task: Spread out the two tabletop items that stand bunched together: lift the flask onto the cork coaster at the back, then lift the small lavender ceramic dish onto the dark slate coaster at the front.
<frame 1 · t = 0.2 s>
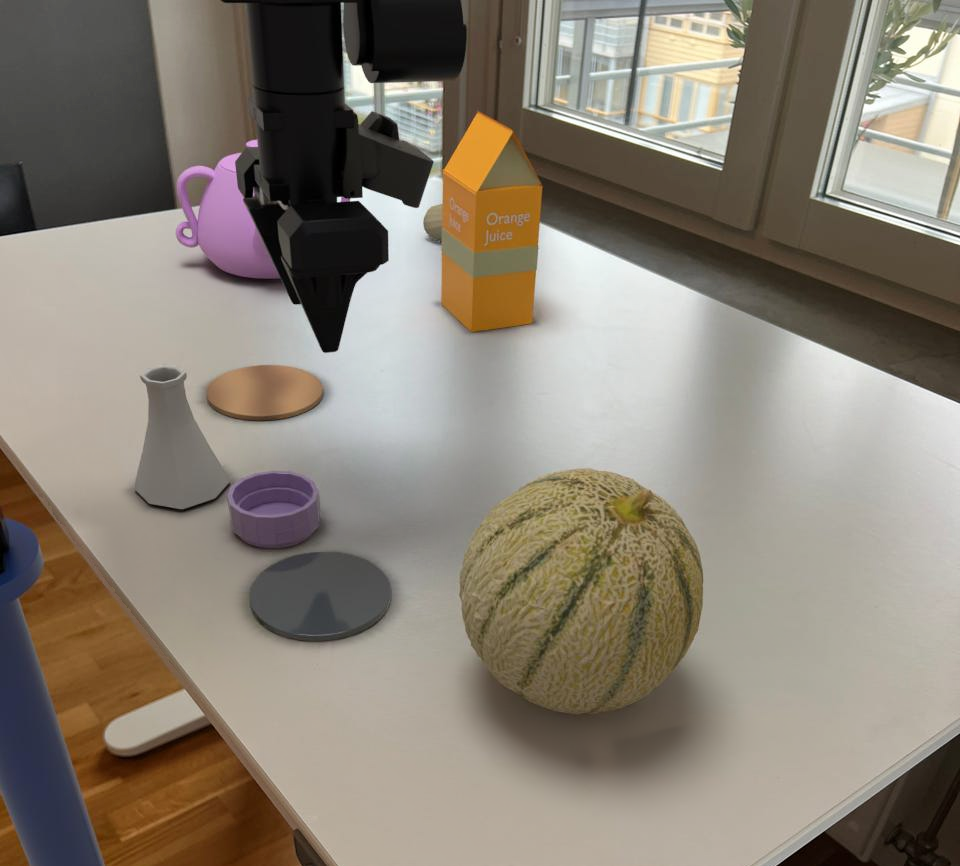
hand: (314, 326, 72), 14 cm above the table, tool pointing down, fingers open, 9 cm apart
flask: (183, 489, 82), on the table
cork coaster: (265, 393, 95), on the table
orange juice: (486, 315, 113), on the table
decorative mushroom: (469, 250, 130), on the table
cantaloupe: (568, 683, 65), on the table
slate coaster: (321, 596, 71), on the table
dish: (276, 526, 78), on the table
teapot: (274, 271, 121), on the table
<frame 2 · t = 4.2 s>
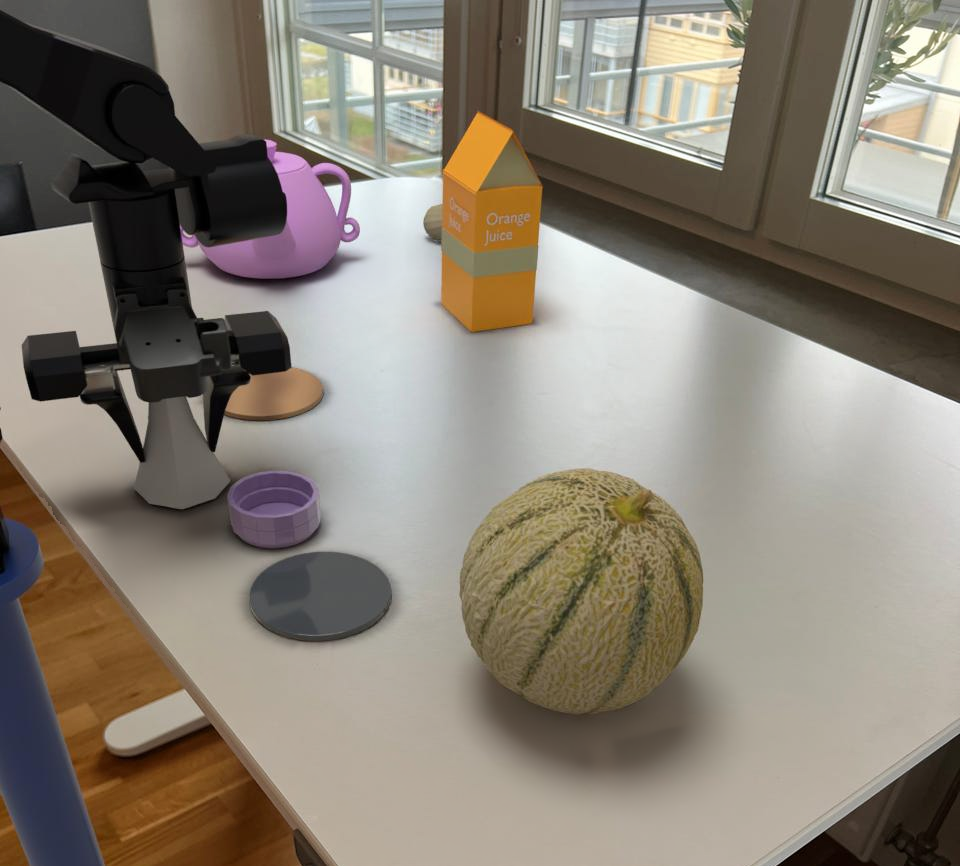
hand: (177, 455, 80), 3 cm above the table, tool pointing down, fingers closed on flask, 5 cm apart
flask: (183, 489, 82), on the table, touching gripper
everything else where it was.
when the fingers open (3 cm above the table, at t = 9.3 s): flask stays where it is, resting on cork coaster.
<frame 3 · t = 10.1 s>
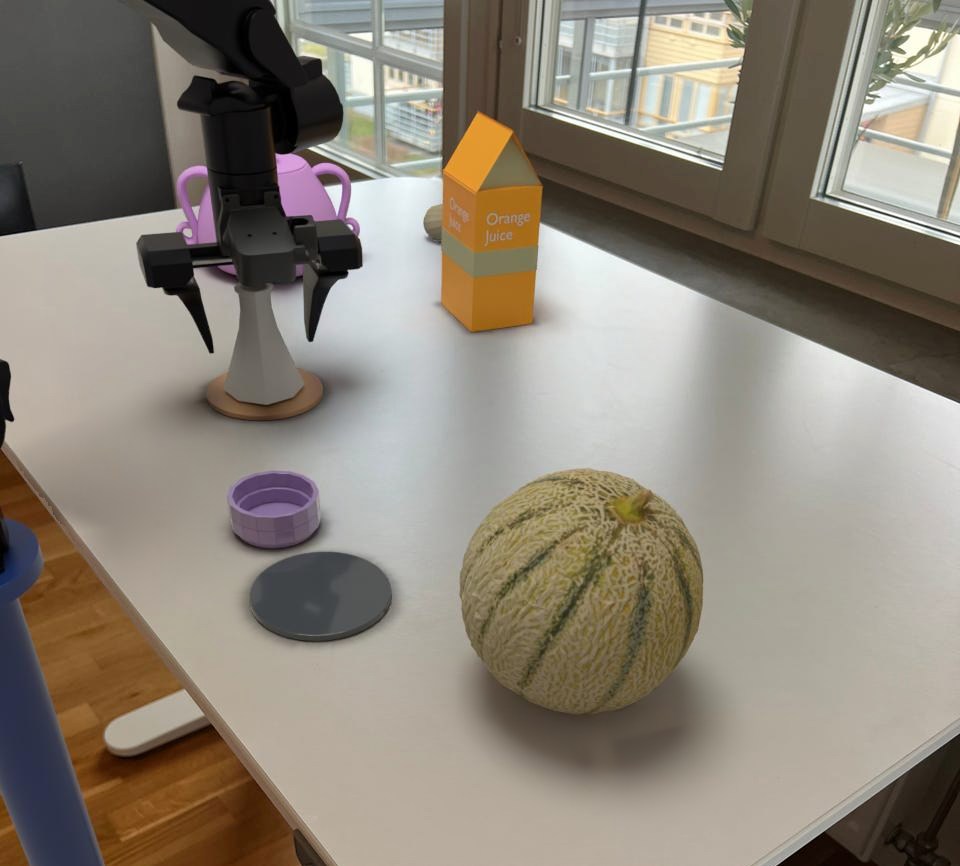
hand: (261, 346, 92), 5 cm above the table, tool pointing down, fingers open, 9 cm apart
flask: (264, 391, 95), resting on cork coaster
everything else where it was.
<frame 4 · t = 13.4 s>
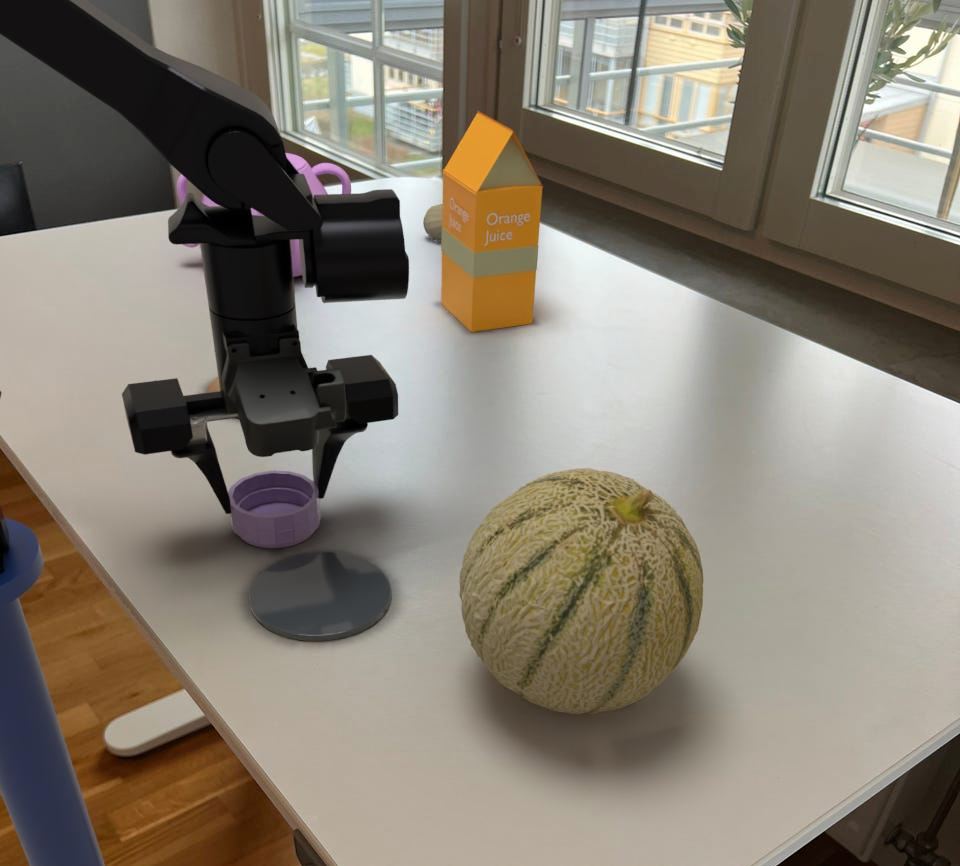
hand: (274, 503, 76), 2 cm above the table, tool pointing down, fingers closed on dish, 7 cm apart
dish: (276, 526, 78), on the table, touching gripper
everything else where it was.
when the fingers open (2 cm above the table, at t = 18.3 s): dish stays where it is, resting on slate coaster.
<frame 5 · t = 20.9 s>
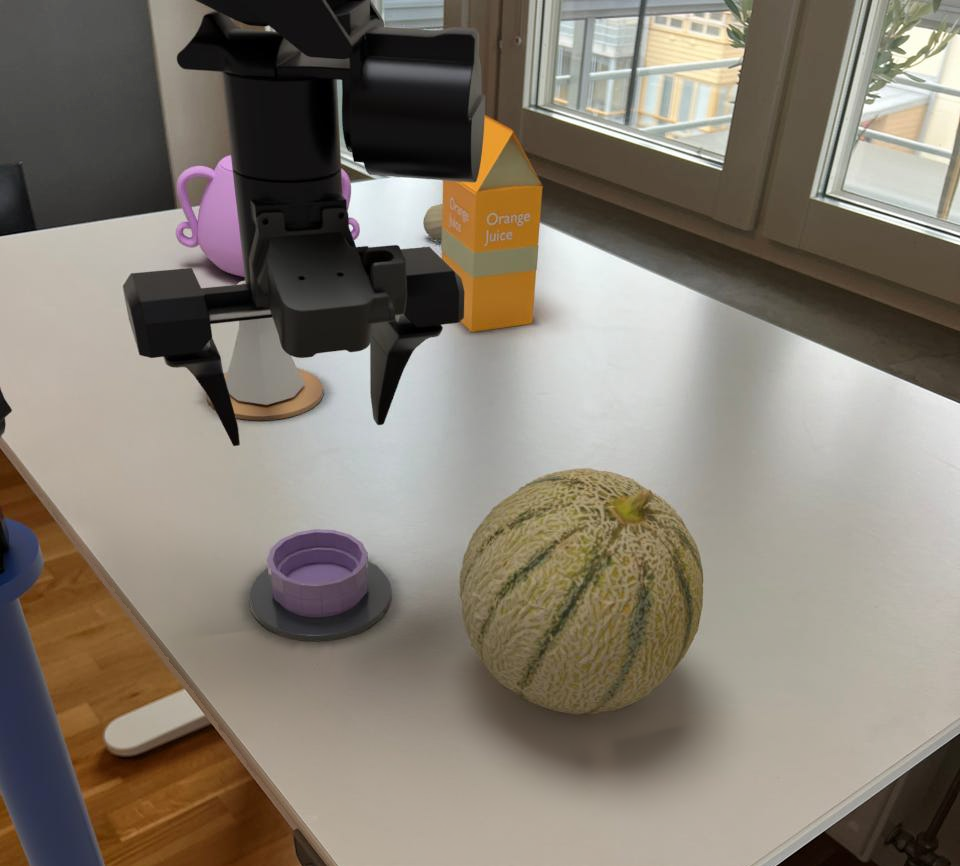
hand: (308, 432, 63), 13 cm above the table, tool pointing down, fingers open, 9 cm apart
dish: (320, 590, 71), resting on slate coaster
everything else where it was.
at the end: flask 0.1 cm off-centre on the cork coaster, point 0.3 cm above the cork coaster's base; flask tilted 0°; dish 0.0 cm off-centre on the slate coaster, point 0.5 cm above the slate coaster's base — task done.
